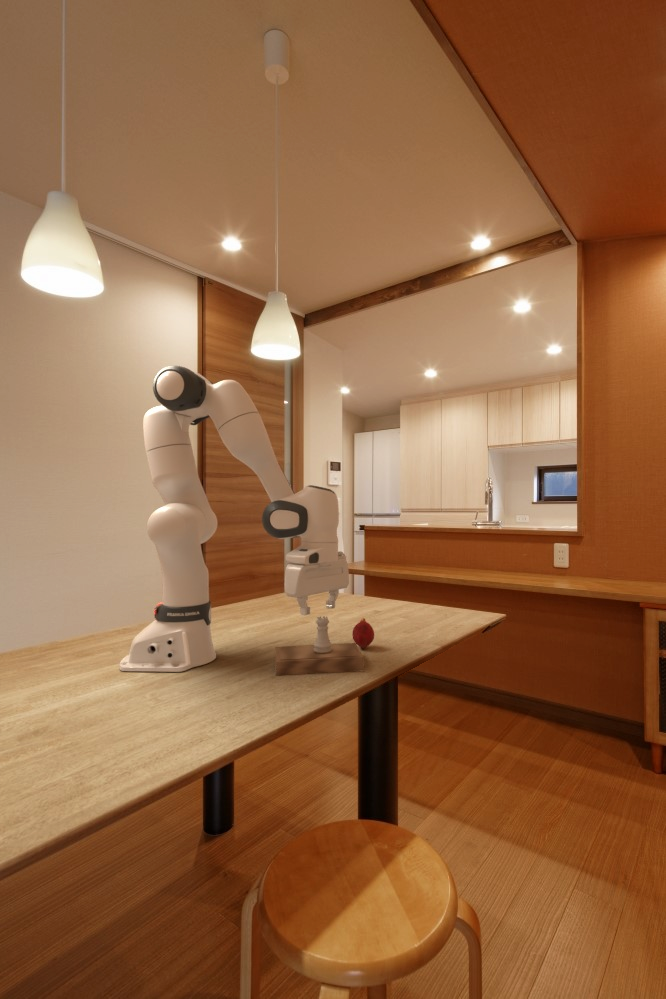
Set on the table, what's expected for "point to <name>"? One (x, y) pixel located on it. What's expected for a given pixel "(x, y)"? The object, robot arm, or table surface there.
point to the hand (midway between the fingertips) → (318, 611)
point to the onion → (363, 634)
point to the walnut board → (318, 659)
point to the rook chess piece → (322, 636)
